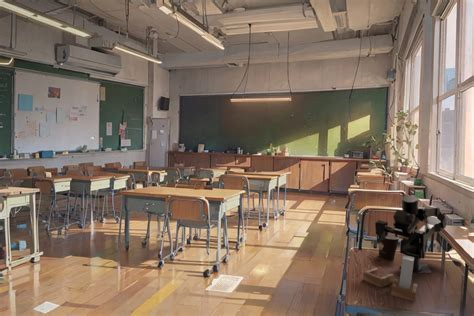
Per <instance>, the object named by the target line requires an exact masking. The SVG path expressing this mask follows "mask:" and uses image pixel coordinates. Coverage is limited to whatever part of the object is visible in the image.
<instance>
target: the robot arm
mask: <svg viewBox="0 0 474 316" xmlns="http://www.w3.org/2000/svg"><path fill="white" fill-rule="evenodd" d="M401 204H402V205H401V206H402V207H401V209H402V210H399V209H396V210H395V213H394V215H393V217H392V218H393V220H394V222H393V226H394V227H393V226H390V225H389V222H387V221H383V220H380V219H378V220H377V221H376V222H375V223H374V224H375V225H374V226H375V235H376V236H377V235H378V241H377V243H378V242H381V241H382V240H384V239H385V237H386V236H387V235H388V234H393V235H395V237H399V239H401V240H400V243H399V249H400V250H399V252H400V254H401V255H406V256H411V257H414V264H413V271H412V274H414V273H415V274H416V273H419V272H422V271H423V270H422V268H420V261H421V260H425V257H426V253H427V252H426V248H425V246H426V244H427V241H428V239H430V237H431V236H432V235H433V234H434V233H440V232H442V231H443V230H444V229H446V227H447V219H446V216H445V215H444V214H443V213H442V211H441V209H440V207H438V206H434V205H426V206H419V199H418V197H417V195H414V194H411V195H407V196H406V195H405V196H403V197H402V198H401ZM420 222H424V225H422V226H421V228H420V229H418V228H419V224H420ZM401 266H402V265H400V266H399V269H401Z"/></svg>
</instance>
